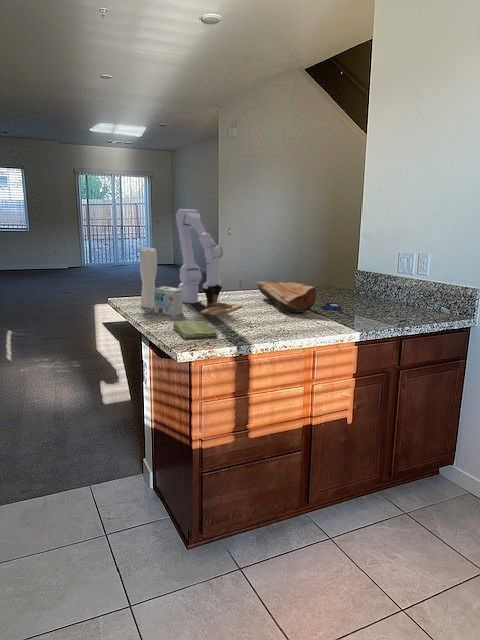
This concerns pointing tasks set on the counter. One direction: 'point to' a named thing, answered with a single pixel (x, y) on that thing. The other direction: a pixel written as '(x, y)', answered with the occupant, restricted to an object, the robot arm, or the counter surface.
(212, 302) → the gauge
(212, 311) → the board
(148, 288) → the skyscraper
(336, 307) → the bar clamp
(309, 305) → the log
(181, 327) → the washcloth
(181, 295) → the light bulb box
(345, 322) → the counter surface
